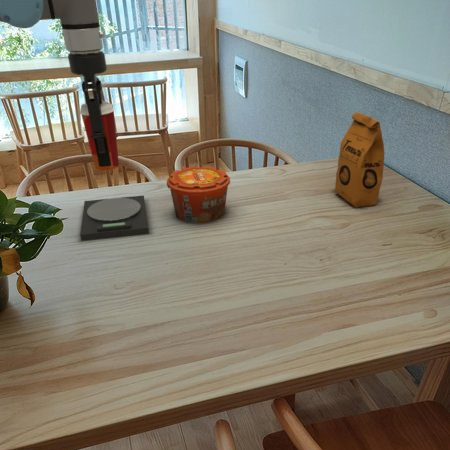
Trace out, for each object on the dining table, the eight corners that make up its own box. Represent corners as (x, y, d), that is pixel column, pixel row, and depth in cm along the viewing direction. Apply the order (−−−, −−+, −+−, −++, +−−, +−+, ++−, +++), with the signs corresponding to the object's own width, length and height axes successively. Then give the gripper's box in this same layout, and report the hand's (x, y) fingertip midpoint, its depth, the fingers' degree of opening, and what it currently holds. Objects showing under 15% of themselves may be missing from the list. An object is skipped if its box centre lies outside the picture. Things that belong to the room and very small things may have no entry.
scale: (82, 244, 107) (79, 231, 105) (86, 209, 123) (83, 197, 121) (149, 236, 109) (147, 224, 107) (144, 203, 125) (143, 192, 123)
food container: (241, 219, 116) (241, 179, 110) (185, 234, 110) (182, 193, 103) (212, 198, 127) (211, 161, 121) (160, 210, 121) (156, 172, 115)
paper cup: (112, 158, 112) (101, 99, 104) (129, 166, 108) (120, 104, 99) (84, 166, 108) (71, 105, 100) (101, 174, 103) (89, 111, 95)
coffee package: (349, 210, 119) (362, 124, 106) (329, 192, 129) (339, 112, 116) (383, 206, 121) (400, 121, 108) (361, 189, 131) (374, 109, 118)
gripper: (102, 57, 86) (121, 173, 100) (105, 44, 102) (121, 146, 115) (62, 59, 85) (87, 176, 99) (71, 46, 101) (91, 149, 114)
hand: (105, 160), depth 107 cm, fingers closed on paper cup, 7 cm apart
